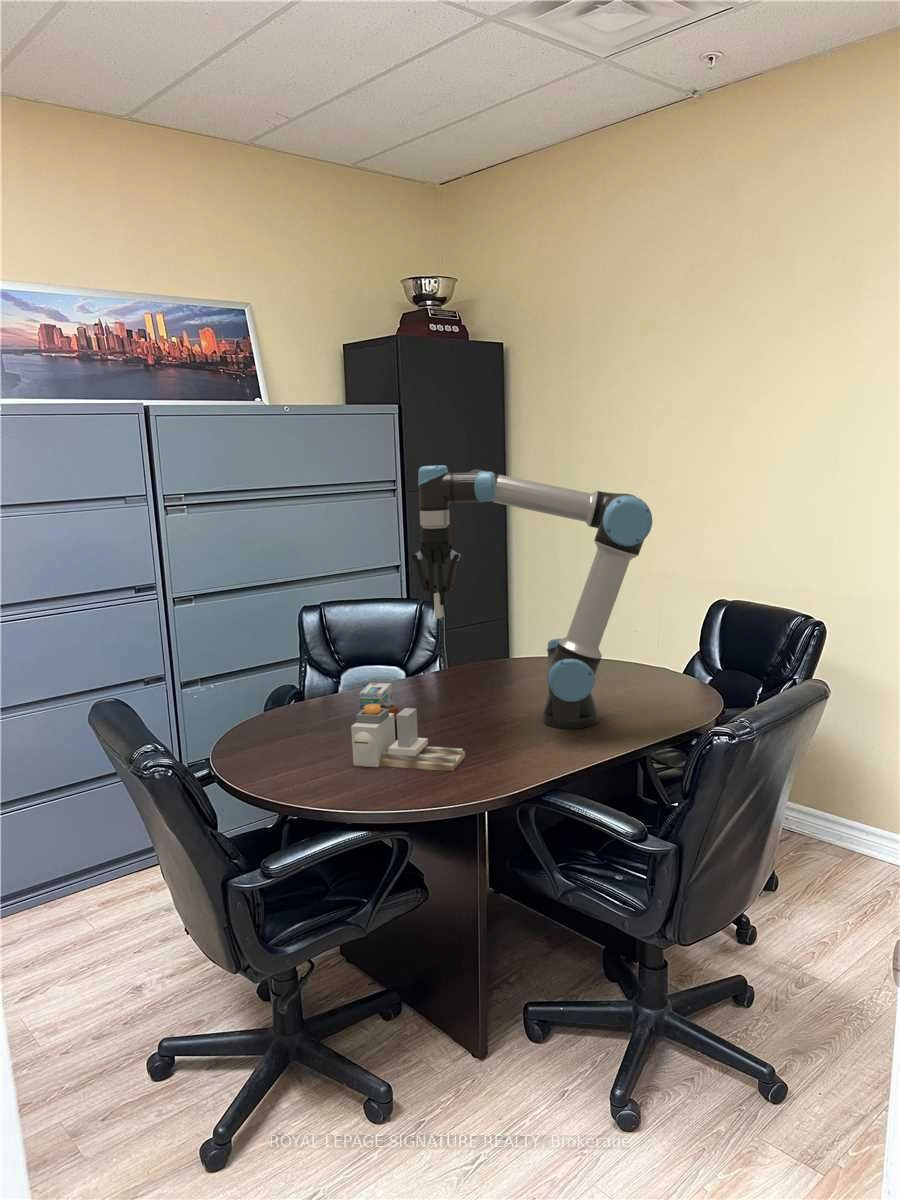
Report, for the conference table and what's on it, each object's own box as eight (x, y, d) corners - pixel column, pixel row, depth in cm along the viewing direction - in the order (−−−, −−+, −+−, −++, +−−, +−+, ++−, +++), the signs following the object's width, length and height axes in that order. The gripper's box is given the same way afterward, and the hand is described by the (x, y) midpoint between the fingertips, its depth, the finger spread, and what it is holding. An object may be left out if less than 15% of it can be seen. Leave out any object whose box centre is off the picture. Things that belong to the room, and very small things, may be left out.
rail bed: (465, 757, 226) (464, 746, 226) (452, 771, 217) (452, 760, 217) (395, 752, 232) (395, 742, 232) (380, 766, 223) (380, 755, 222)
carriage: (427, 743, 228) (426, 707, 227) (415, 755, 220) (413, 718, 218) (401, 742, 231) (399, 705, 229) (388, 754, 222) (386, 716, 221)
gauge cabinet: (396, 751, 233) (393, 705, 231) (377, 768, 221) (374, 720, 219) (372, 749, 235) (369, 704, 233) (352, 766, 223) (349, 719, 221)
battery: (387, 743, 240) (385, 706, 238) (372, 737, 245) (370, 701, 243) (400, 739, 242) (398, 703, 241) (386, 733, 248) (384, 698, 246)
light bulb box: (384, 731, 250) (382, 692, 248) (360, 730, 252) (358, 692, 250) (394, 719, 261) (392, 682, 259) (371, 718, 262) (369, 682, 260)
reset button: (383, 715, 228) (382, 704, 228) (377, 720, 224) (376, 708, 224) (368, 714, 229) (367, 703, 229) (362, 719, 226) (361, 707, 225)
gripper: (463, 524, 235) (467, 615, 239) (416, 525, 239) (420, 614, 243) (455, 527, 228) (458, 620, 232) (406, 528, 232) (410, 619, 236)
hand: (439, 617), depth 237 cm, fingers closed
